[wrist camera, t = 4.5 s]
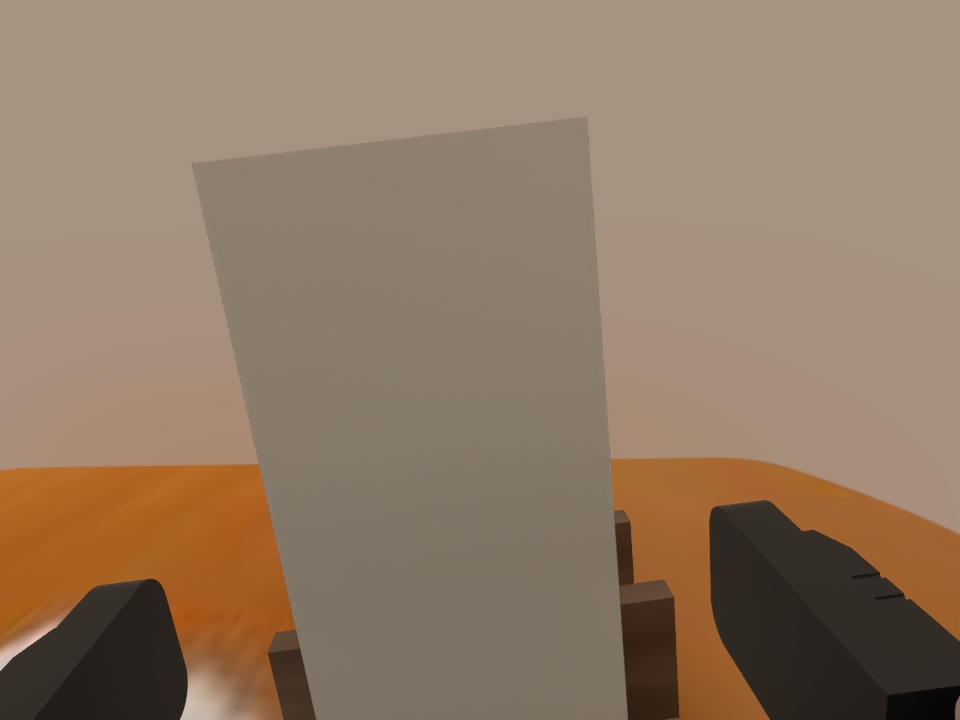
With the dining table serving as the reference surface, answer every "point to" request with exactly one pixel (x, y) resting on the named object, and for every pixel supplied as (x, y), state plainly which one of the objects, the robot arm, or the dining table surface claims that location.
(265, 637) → the dining table surface
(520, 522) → the beige tall block
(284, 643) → the rack
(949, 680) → the robot arm
